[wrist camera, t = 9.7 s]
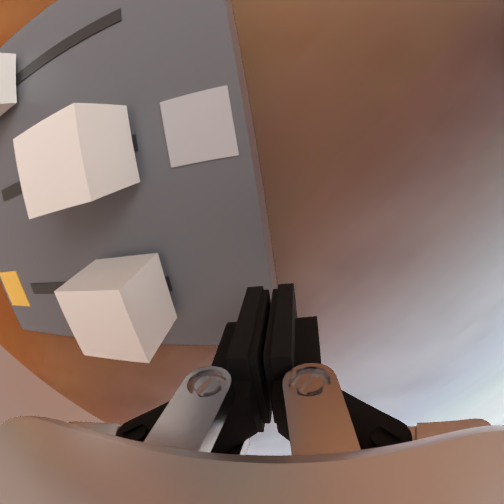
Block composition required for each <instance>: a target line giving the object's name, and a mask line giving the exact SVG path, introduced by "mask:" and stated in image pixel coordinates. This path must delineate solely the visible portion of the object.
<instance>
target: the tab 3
mask: <svg viewBox="0 0 504 504" xmlns="http://www.w3.org/2000/svg"><path fill="white" fill-rule="evenodd" d="M54 293H55V295H56V298H57V300H58V302H59V305H60V307H61V309H62V311H63V314H64V316H65V318H66V320H67V322H68V324H69V326H70V328H71V331H72V333H73V335H74V337H75V339H76V340H77V342H78V344H79V346H80V348H81V350H82V352H83V354H84V355H87V356H94V357H100V358H108V359H115V360H124V361H133V362H142V363H150V361H151V359H152V358H153V356H154V354H155V353H156V351H157V349H158V348H159V346H160V345H161V343H162V341H163V340H164V338H165V336H166V335H167V333H168V332H169V330H170V328H171V327H172V325H173V323H174V322H175V320H176V319H177V315H176V311H175V308H174V305H173V302H172V299H171V296H170V293H169V289H168V286H167V283H166V279H165V276H164V273H163V269H162V266H161V262H160V259H159V255H158V253H152V254H142V255H133V256H123V257H114V258H105V259H96V260H94V261H93V262H92V263H90V264H89V265H88V266H86V267H85V268H84V269H82V270H81V271H80V272H78V273H77V274H76V275H74V276H73V277H72V278H71V279H69V280H68V281H67V282H65V283H64V284H63V285H62V286H60V287H59V288H58V289H57V290H55V291H54Z"/></svg>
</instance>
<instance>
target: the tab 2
mask: <svg viewBox="0 0 504 504" xmlns="http://www.w3.org/2000/svg"><path fill="white" fill-rule="evenodd" d="M13 143H14V150H15V157H16V163H17V168H18V174H19V179H20V184H21V188H22V193H23V197H24V201H25V205H26V209H27V213H28V217H29V219H32V218H36V217H39V216H42V215H45V214H49V213H52V212H55V211H59V210H62V209H66V208H69V207H73V206H76V205H80V204H84V203H88V202H91V201H94V200H96V199H99V198H101V197H103V196H106V195H108V194H111V193H113V192H116V191H118V190H121V189H123V188H126V187H129V186H131V185H134V184H136V183H139V182H140V178H139V173H138V168H137V163H136V158H135V153H134V147H133V142H132V136H131V131H130V125H129V119H128V112H127V106H126V105H113V104H95V103H73V104H71V105H69V106H67V107H65V108H63V109H61V110H60V111H58V112H56V113H54V114H52V115H51V116H49V117H47V118H46V119H44V120H42V121H40V122H39V123H37V124H36V125H34V126H32V127H31V128H29V129H28V130H26V131H25V132H23V133H22V134H20V135H19V136H17V137H16V138H14V139H13Z"/></svg>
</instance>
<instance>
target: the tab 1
mask: <svg viewBox="0 0 504 504" xmlns="http://www.w3.org/2000/svg"><path fill="white" fill-rule="evenodd" d="M16 103H17V96H16V54H12V53H0V116H1V115H2V114H3V113H5V112H6V111H7V110H8V109H10V108H11V107H12V106H13V105H15V104H16Z"/></svg>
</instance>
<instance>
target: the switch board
mask: <svg viewBox="0 0 504 504" xmlns="http://www.w3.org/2000/svg"><path fill="white" fill-rule="evenodd" d="M0 53H12V54H16V96H17V103H16V104H15V105H13V106H12V107H11V108H10V109H8V110H7V111H6V112H5V113H3V114H2V115H1V116H0V281H1V283H2V285H3V288H4V290H5V293H6V295H7V297H8V300H9V302H10V304H11V306H12V308H13V311H14V313H15V315H16V317H17V319H18V321H19V323H20V325H21V327H22V329H24V330H30V331H36V332H42V333H49V334H56V335H63V336H71V337H74V335H73V333H72V331H71V328H70V326H69V324H68V322H67V320H66V318H65V316H64V314H63V311H62V309H61V307H60V305H59V302H58V300H57V298H56V295H55V293H54V291H55V290H57V289H58V288H59V287H60V286H62V285H63V284H64V283H65V282H67V281H68V280H69V279H71V278H72V277H73V276H74V275H76V274H77V273H78V272H80V271H81V270H82V269H84V268H85V267H86V266H88V265H89V264H90V263H92V262H93V261H94V260H96V259H105V258H114V257H123V256H133V255H142V254H152V253H158V255H159V259H160V262H161V266H162V269H163V273H164V276H165V279H166V283H167V286H168V289H169V293H170V296H171V299H172V302H173V305H174V308H175V311H176V315H177V319H176V320H175V322H174V323H173V325H172V327H171V328H170V330H169V332H168V333H167V335H166V336H165V338H164V340H163V341H162V343H161V344H169V345H219V343H220V340H221V338H222V335H223V332H224V329H225V326H226V324H227V323H228V322H237V320H238V316H239V313H240V310H241V307H242V303H243V300H244V297H245V294H246V290H247V287H256V286H263V288H264V290H266V289H269V292H270V299H272V291H273V289H278V285H277V278H276V270H275V263H274V256H273V249H272V242H271V235H270V228H269V221H268V215H267V208H266V201H265V195H264V188H263V182H262V175H261V169H260V162H259V156H258V150H257V144H256V137H255V131H254V125H253V119H252V113H251V107H250V101H249V95H248V90H247V84H246V78H245V73H244V67H243V61H242V56H241V50H240V45H239V39H238V34H237V29H236V23H235V18H234V13H233V8H232V2H231V0H57V1H56V2H54V3H53V4H52V5H50V6H49V7H48V8H46V9H45V10H44V11H42V12H41V13H40V14H38V15H37V16H36V17H35V18H33V19H32V20H31V21H30V22H28V23H27V24H26V25H25V26H24V27H23V28H21V29H20V30H19V31H18V32H17V33H16V34H15V35H13V36H12V37H11V38H10V39H9V40H8V41H7V42H6V43H5V44H4V45H3V46H2V47H1V48H0ZM73 103H95V104H113V105H126V106H127V112H128V119H129V125H130V131H131V136H132V142H133V147H134V153H135V158H136V163H137V168H138V173H139V178H140V182H139V183H136V184H134V185H131V186H129V187H126V188H123V189H121V190H118V191H116V192H113V193H111V194H108V195H106V196H103V197H101V198H99V199H96V200H94V201H91V202H88V203H84V204H80V205H76V206H73V207H69V208H66V209H62V210H59V211H55V212H52V213H49V214H45V215H42V216H39V217H36V218H32V219H29V217H28V213H27V209H26V205H25V201H24V197H23V193H22V188H21V184H20V179H19V174H18V168H17V163H16V157H15V150H14V143H13V139H14V138H16V137H17V136H19V135H20V134H22V133H23V132H25V131H26V130H28V129H29V128H31V127H32V126H34V125H36V124H37V123H39V122H40V121H42V120H44V119H46V118H47V117H49V116H51V115H52V114H54V113H56V112H58V111H60V110H61V109H63V108H65V107H67V106H69V105H71V104H73Z"/></svg>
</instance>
